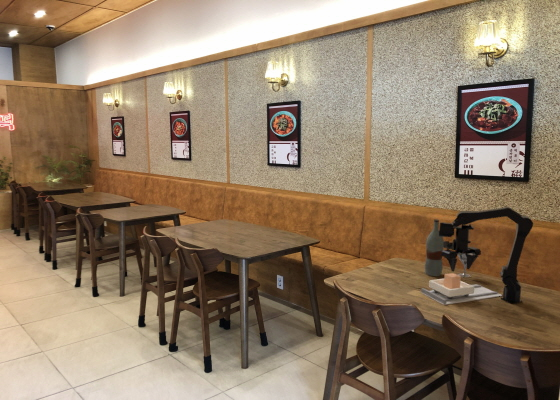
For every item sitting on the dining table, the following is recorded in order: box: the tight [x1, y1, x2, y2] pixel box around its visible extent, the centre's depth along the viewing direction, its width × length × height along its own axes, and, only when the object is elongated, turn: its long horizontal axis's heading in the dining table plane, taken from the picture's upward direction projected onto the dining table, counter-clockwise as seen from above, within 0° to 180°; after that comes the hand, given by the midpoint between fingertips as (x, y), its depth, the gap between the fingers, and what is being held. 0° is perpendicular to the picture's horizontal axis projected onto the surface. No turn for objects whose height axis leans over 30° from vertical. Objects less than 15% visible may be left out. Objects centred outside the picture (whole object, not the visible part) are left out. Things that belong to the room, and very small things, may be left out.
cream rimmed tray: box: [428, 278, 474, 299], centre depth 206 cm, size 14×14×5 cm
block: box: [443, 272, 462, 289], centre depth 206 cm, size 5×5×6 cm
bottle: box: [424, 218, 445, 277], centre depth 237 cm, size 9×9×30 cm
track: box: [420, 284, 503, 306], centre depth 209 cm, size 16×34×2 cm, turn 110°
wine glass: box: [457, 254, 472, 278], centre depth 236 cm, size 8×8×15 cm
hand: (460, 270), depth 208 cm, fingers open, 9 cm apart
